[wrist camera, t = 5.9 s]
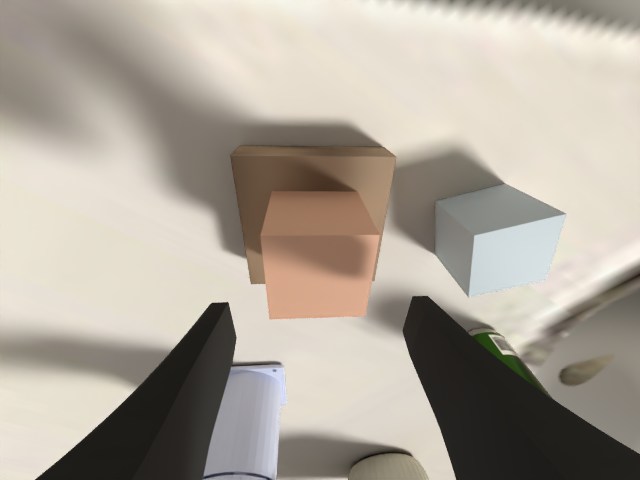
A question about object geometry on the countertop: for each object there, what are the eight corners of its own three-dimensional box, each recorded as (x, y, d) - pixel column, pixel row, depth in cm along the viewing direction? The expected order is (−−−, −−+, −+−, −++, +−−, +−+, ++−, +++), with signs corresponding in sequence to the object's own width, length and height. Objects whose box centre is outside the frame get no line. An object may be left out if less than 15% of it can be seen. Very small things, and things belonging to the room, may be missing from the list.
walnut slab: (256, 262, 20) (250, 284, 18) (239, 145, 16) (230, 155, 13) (366, 260, 21) (374, 280, 19) (383, 147, 16) (396, 156, 14)
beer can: (465, 323, 26) (569, 477, 16) (510, 327, 27) (636, 476, 17) (442, 355, 29) (518, 504, 19) (483, 358, 30) (578, 501, 20)
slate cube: (434, 254, 21) (468, 297, 17) (434, 200, 19) (474, 235, 14) (495, 240, 21) (545, 280, 17) (504, 183, 18) (566, 213, 14)
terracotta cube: (277, 261, 17) (269, 319, 13) (272, 191, 15) (260, 235, 10) (349, 259, 18) (365, 316, 13) (357, 191, 15) (379, 235, 11)
